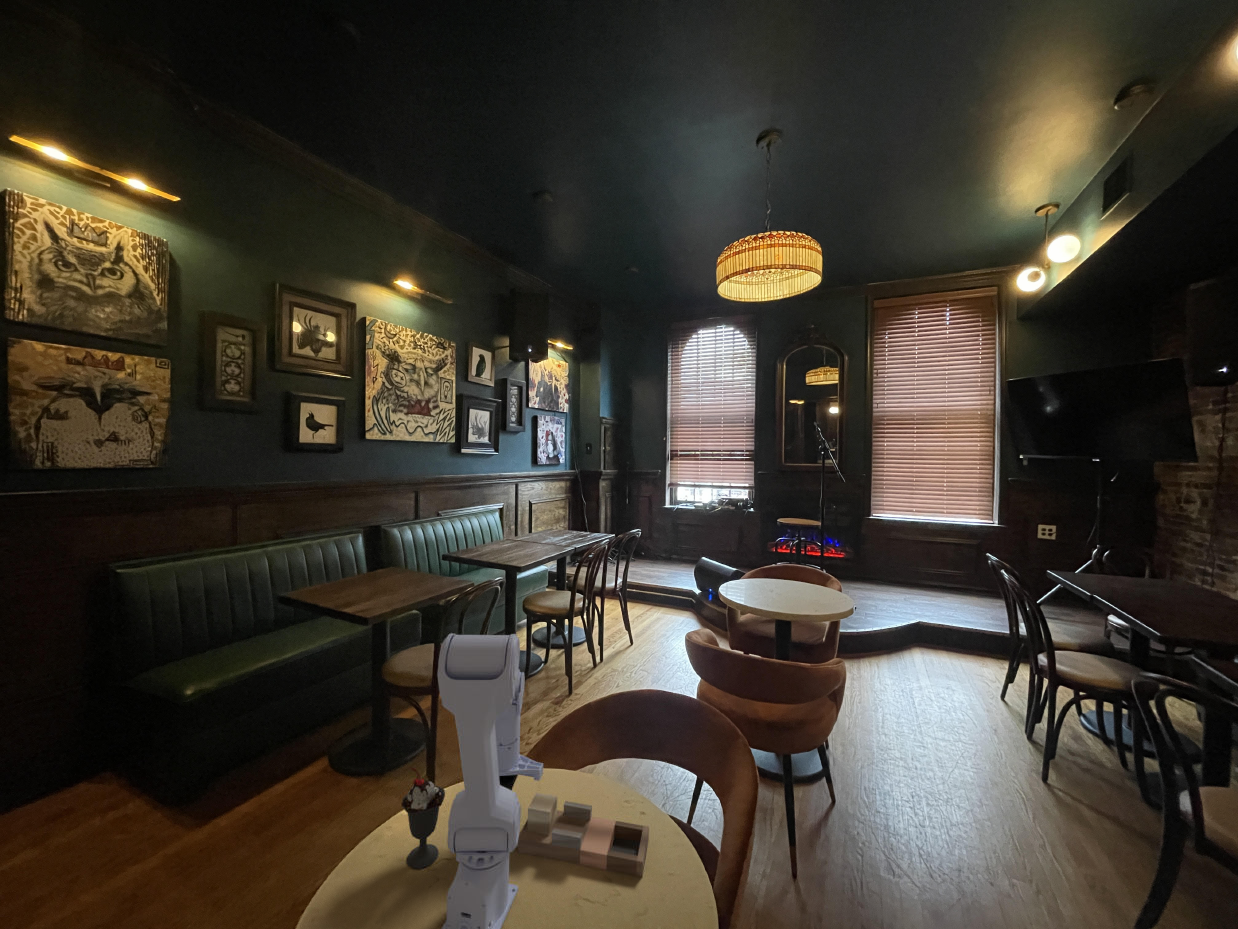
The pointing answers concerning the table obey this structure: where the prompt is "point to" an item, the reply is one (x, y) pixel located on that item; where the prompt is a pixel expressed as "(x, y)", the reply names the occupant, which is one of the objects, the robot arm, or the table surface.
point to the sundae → (423, 819)
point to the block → (542, 813)
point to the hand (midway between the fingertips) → (501, 810)
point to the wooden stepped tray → (589, 841)
